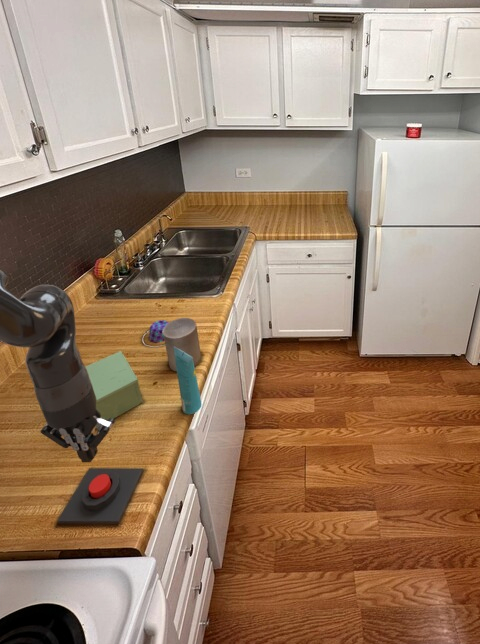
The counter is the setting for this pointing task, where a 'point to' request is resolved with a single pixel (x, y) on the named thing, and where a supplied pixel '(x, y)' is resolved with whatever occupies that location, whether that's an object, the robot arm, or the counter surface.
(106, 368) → the lid
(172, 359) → the pillar candle
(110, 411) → the breadbin
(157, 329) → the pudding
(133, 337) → the counter surface
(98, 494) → the button
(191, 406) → the tube
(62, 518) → the button block
